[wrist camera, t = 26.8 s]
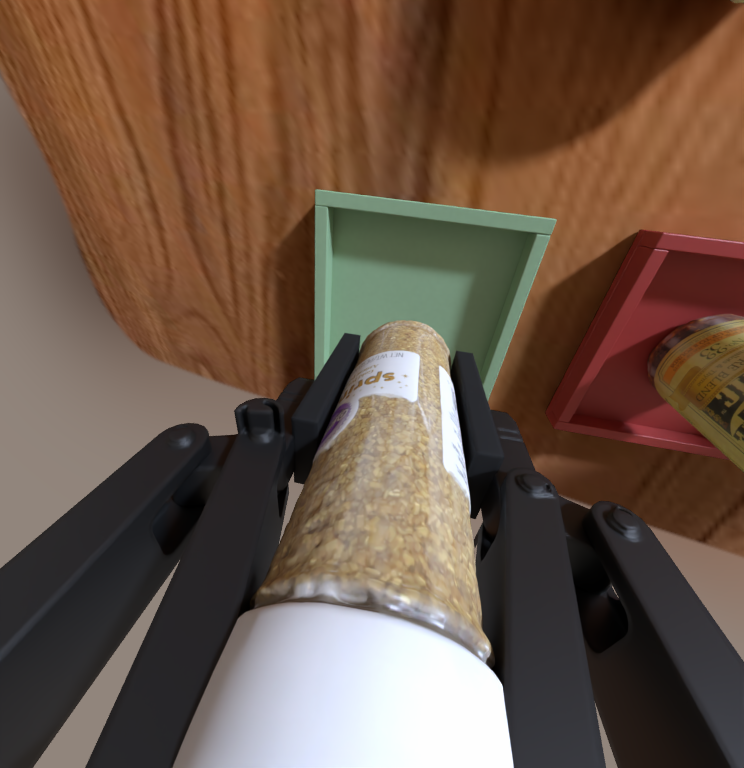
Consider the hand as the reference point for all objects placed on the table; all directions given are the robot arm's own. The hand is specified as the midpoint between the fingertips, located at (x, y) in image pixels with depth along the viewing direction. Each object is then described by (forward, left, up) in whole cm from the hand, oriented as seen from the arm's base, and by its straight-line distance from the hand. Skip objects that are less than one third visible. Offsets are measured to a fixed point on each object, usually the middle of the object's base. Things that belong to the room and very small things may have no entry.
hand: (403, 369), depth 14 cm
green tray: (0, 0, -9) cm, 9 cm away
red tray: (0, +19, -9) cm, 21 cm away
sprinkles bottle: (0, 0, -1) cm, 1 cm away
